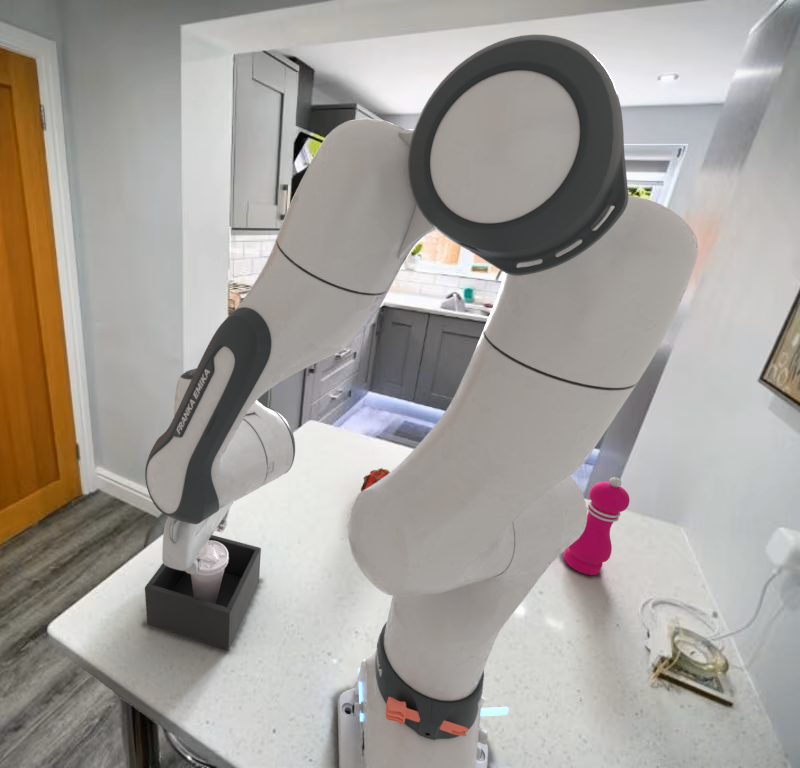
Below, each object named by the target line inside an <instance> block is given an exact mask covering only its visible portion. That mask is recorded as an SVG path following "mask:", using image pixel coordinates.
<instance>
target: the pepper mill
mask: <svg viewBox="0 0 800 768" xmlns="http://www.w3.org/2000/svg"><path fill="white" fill-rule="evenodd" d="M588 495H589V499H590V500H589V501H588V503H587V505H586V507H587V523H586V527H585V530H584V532H583V533H582V535H581V536H580V538H579V539H577V540H576V541H575V542H574V543H573V544H572V545H570V546H569V547H568V548H567V549H566V550H565V551H563V555H562V556H563V560H564V562H565V563H566V564H567V565H568V566H569V567H570V568H572V569H573V570H575V571H577V572H578V573H580V574H584V575H587V576H588V575H589V576H596V575H598V574H599V573H600V572H601V570H602V568H603V563H605V562H607V561H609V560H610V558H611V555H612V549H613V547H612V546H613V545H612V540H611V528H612V525H613V524H614V523H615V522H618V521H619V519H620V516H621V513H622V512H624V511H626V510H627V509H628V507H629V504H630V495H629V493H628V491H627V490H626V489H625V488H623V486H622V480H621V479H620V478H618V477H615V476H614V477H610V479H609V481H599V482H597V483H595V484H593V485H592V487H590V490H589V493H588Z"/></svg>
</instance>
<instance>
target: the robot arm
mask: <svg viewBox="0 0 800 768" xmlns="http://www.w3.org/2000/svg"><path fill="white" fill-rule="evenodd" d="M623 121H624V119H623V112H622V107H621V102H620V97H619V94H618V91H617V88H616V86H615V82H614V81H613V79H612V76H611V75H610V73H609V71H608V69H606V67H605V65H604V64H603V63H602V62H601V61H600V60H599V58H598V57H596V55H594V53H592V52H591V51H590V50H588V49H587V48H585V47H584V46H582V45H580V44H578V43H577V42H575V41H572V40H570V39H567V38H564V37H561V36H560V37H559V36H556V35H551V34H550V35H548V34H525V35H517V36H513V37H509V38H506V39H502V40H499V41H496V42H494V43H492V44H489V45H488V46H485V47H484V48H481V49H480V50H477V51H476V52H474V53H473V54H471V55H470V56H468V57H466V59H464V60H463V61H462V62H460V63H459V64H458V65H457V66H455V68H453V69H452V70H451V71H450V72H448V73H447V75H446V76H445V77H444V78H443V79H442V81H441V82H440V83H439V84H438V85H437V87H436V88H435V89H434V90H433V92H432V93H431V95H430V96H429V98H428V99H427V101H426V103H425V105H424V106H423V108H422V110H421V112H420V114H419V116H418V118H417V121H416V123H415V126H414V129H410V128H409V129H408V128H404V127H402V126H399V125H397V124H394V123H392V122H389V121H386V120H382V119H377V118H358V119H352V120H347V121H345V122H343V123H340V124H339V125H337V126H335V128H333V129H332V130H331V131H330V132H329V133H328V134H327V135H326V136H325V138H324V139H323V141H322V142H321V144H320V146H319V148H318V149H317V151H316V153H315V154H314V156H313V158H312V159H311V161H310V163H309V165H308V167H307V168H306V170H305V172H304V174H303V176H302V178H301V179H300V182H299V184H298V186H297V188H296V189H295V192H294V195H293V196H292V199H291V201H290V203H289V205H288V208H287V210H286V213H285V215H284V217H283V221H282V222H281V225H280V227H279V230H278V233H277V237H276V238H275V241H274V244H273V246H272V248H271V250H270V251H271V252H270V253H269V256H268V258H267V260H266V262H265V264H264V266H263V268H262V269H261V271H260V273H259V275H258V276H257V278H256V280H255V281H254V283H253V284H252V286H251V288H250V289H249V291H247V294H246V295H245V296H244V298H243V299H242V300H241V301H240V303H239V304H238V305H237V306H236V307H235V309H234V310H233V311H231V312H230V314H229V315H228V316H227V317H226V318H225V319H224V321H223V322H222V323H220V325H219V326H218V328H217V329H216V331H215V332H214V334H213V335H212V337H211V339H210V341H209V343H208V345H207V347H206V348H205V351H204V353H203V354H202V357H201V359H200V361H199V362H198V365H197V367H196V368H193V369H189V370H186V371H185V372H183V373H182V374H181V375H180V376H179V378H178V379H177V383H176V388H175V394H174V395H175V396H174V407H173V409H174V411H173V419H172V421H171V422H170V424H169V425H168V428H167V429H166V430H165V431H164V432H163V434H161V435H160V436H159V437H158V438H157V439H156V441H155V443H154V444H153V446H152V448H151V450H150V451H149V455H148V458H147V460H146V464H145V469H144V470H145V472H144V477H145V478H144V479H145V485H146V489H147V492H148V495H149V498H150V500H151V501H152V503H153V505H154V506H155V508H156V509H157V510H158V511H159V512H160V513H161V514H163V515H165V516H166V517H167V518H166V521H165V524H164V527H163V534H162V535H163V536H162V555H161V556H162V564H163V563H164V565H166V566H168V567H170V568H173V569H176V570H181V571H186V572H187V573H189V574H192V575H196V574H197V572H198V571H199V569H200V567H201V565H200V564H201V559H198V558H197V557H198V555H199V554H200V552H201V551H202V549H203V548H204V546H205V545H206V543H207V542H208V540H209V539H210V537H211V536H212V535H214V533H215V532H219V533H223V532H224V531H225V529H226V528H227V526H228V518H229V514H230V511H231V506H232V505H233V504H234V502H236V501H238V500H240V499H241V498H244V497H246V496H247V495H249V494H251V493H253V492H255V491H257V490H258V489H260V488H262V487H264V486H266V485H268V484H269V483H271V482H274V481H276V480H278V479H279V478H280V477H282V476H283V475H286V474H287V473H288V472H289V471H290V470H291V468H292V466H293V464H294V461H295V456H296V441H295V436H294V433H293V429H292V427H291V425H290V424H289V422H288V420H287V419H286V418H285V417H284V416H283V415H282V414H281V413H279V412H278V411H277V410H275V409H274V408H270V407H269V406H266V405H263V404H262V403H261V402H259V399H260V398H261V397H262V396H264V395H265V394H266V393H267V392H268V391H270V390H271V389H272V388H274V387H275V386H276V385H278V384H279V383H280V384H281V382H283V381H285V380H287V379H288V378H290V377H292V376H294V375H295V374H297V373H299V372H301V371H304V370H305V369H307V368H309V367H311V366H313V365H315V364H317V363H319V362H322V361H324V360H326V359H328V358H330V357H332V356H334V355H336V354H338V353H340V352H341V351H344V350H345V349H347V348H348V347H349V346H350V345H351V344H352V343H353V342H354V341H355V340H356V339H357V337H358V336H359V335H361V333H362V332H363V331H364V330H365V328H366V327H367V326H368V325H369V323H370V322H371V321H372V320H373V318H374V317H375V315H376V314H377V312H378V311H379V309H380V307H381V305H382V304H383V302H384V300H385V298H386V297H387V295H388V293H389V291H390V289H391V287H392V285H393V284H394V282H395V280H396V278H397V276H398V274H399V272H400V271H401V269H402V267H403V265H404V264H405V262H406V260H407V259H408V257H409V255H411V253H412V251H413V250H414V248H415V247H416V245H418V244H419V242H420V241H421V240H422V239H424V238H425V236H427V235H429V234H430V233H432V232H435V231H437V232H439V233H440V234H441V235H443V236H444V237H445V238H447V239H448V240H450V241H451V242H453V243H455V244H456V245H458V246H460V247H462V248H463V249H465V250H466V251H469V252H470V253H472V254H474V255H476V256H477V257H479V258H480V259H482V260H484V261H485V262H487V263H488V264H489V265H492V266H493V267H495V268H497V269H498V270H500V271H501V272H503V275H502V280H501V283H500V286H499V291H498V292H497V296H496V298H495V301H494V304H493V306H492V308H491V311H490V313H489V316H488V318H487V320H486V322H485V325H484V327H483V330H482V332H481V334H480V337H479V338H478V339H479V340H478V341H477V344H476V347H475V349H474V351H473V354H472V356H471V358H470V360H469V363H468V365H467V368H466V369H465V372H464V374H463V376H462V378H461V380H460V383H459V385H458V387H457V389H456V392H455V393H454V395H453V397H452V399H451V401H450V403H449V405H448V406H447V408H446V409H445V412H444V413H443V414H442V415H441V417H440V418H439V420H438V421H437V422H436V423H435V425H434V426H433V427H432V428H431V429H430V431H429V432H428V433H427V434H426V435H425V437H424V438H423V439H422V440H421V441H420V442H419V443H418V444H417V446H416V447H415V448H414V449H413V450H412V451H411V452H410V453H409V454H408V455H407V456H406V457H405V459H403V460H402V461H401V462H400V463H399V464H398V465H397V466H396V467H394V469H392V470H391V471H389V472H390V473H389V474H388V475H386V476H385V477H384V478H382V479H381V480H379V481H378V482H376V483H375V484H373V485H372V486H370V487H368V488H367V489H365V490H363V491H362V492H361V491H360V492H359V493H358V494H357V496H356V498H355V499H354V501H353V503H352V505H351V507H350V513H349V515H348V521H347V522H348V523H347V538H348V544H349V545H348V546H349V548H350V552H351V554H352V557H353V559H354V562H355V564H356V565H357V567H358V569H359V571H360V572H361V573H362V574H363V576H364V577H365V578H366V579H367V580H368V581H369V582H370V584H372V586H374V587H375V588H376V589H378V590H379V591H380V592H382V593H383V594H385V595H387V596H392V597H391V602H390V607H389V611H388V615H387V619H386V622H385V623H384V624H383V627H382V628H381V630H380V633H379V636H378V638H377V642H376V650H375V652H373V653H372V654H370V655H368V656H367V657H365V659H362V660H361V664H360V667H358V670H357V674H358V676H357V680H356V683H355V687H353V688H351V689H348V690H345V691H344V692H342V693H341V694H340V695H339V698H338V700H337V735H338V737H337V738H338V768H488V764H489V763H488V762H489V746H488V743H487V742H488V735H489V733H488V731H487V730H486V729H483V728H481V726H480V724H481V717H487V716H488V717H489V716H506V715H508V712H509V707H508V706H499V707H498V706H497V707H495V706H494V707H483V705H484V703H485V697H483V690H484V680H485V667H486V665H487V662H488V660H489V658H490V655H491V652H492V650H493V647H494V644H495V642H496V639H497V638H498V636H499V634H500V633H501V631H502V629H503V628H504V626H505V624H506V623H507V622H508V621H509V619H510V618H511V616H512V615H513V614H514V613H515V612H516V610H517V609H518V608H519V606H520V605H521V604H522V602H523V601H524V600H525V599H526V597H527V596H528V594H529V593H530V592H531V590H532V589H533V587H534V586H535V585H536V584H537V583H538V581H539V580H540V578H541V577H542V576H543V575H544V573H545V572H546V571H547V569H548V568H549V567H550V566H551V565H552V564H553V563H554V561H556V559H558V557H559V556H560V555H561V554H563V553H564V552H565V550H566V549H567V548H568V547H569V546H570V545H572V544H573V543H574V542H575V541H576V540H577V539H579V538H580V536H581V535H582V533H583V532H584V530H585V527H586V523H587V515H588V510H587V502H586V500H585V497H584V494H583V492H582V489H581V488H580V486H579V485H578V483H577V482H576V480H575V479H574V478H573V477H572V475H573V474H575V472H577V471H578V470H579V469H580V468H581V467H582V466H583V465H584V464H585V463H586V461H587V460H588V458H589V457H590V455H591V454H592V453H593V451H594V449H595V448H596V446H597V445H598V444H599V442H600V441H601V440H602V437H603V436H604V434H605V433H606V432H607V430H608V428H609V427H610V425H611V424H612V422H613V421H614V420H615V418H616V417H617V415H618V414H619V411H621V409H622V407H623V406H624V404H625V402H627V400H628V398H629V397H630V395H631V394H632V393H633V391H634V389H635V388H636V386H637V385H638V383H639V382H640V380H641V378H642V376H643V375H644V373H645V372H646V370H647V369H648V367H649V365H650V364H651V362H652V361H653V359H654V357H655V355H656V354H657V352H658V350H659V348H660V346H661V344H662V343H663V341H664V339H665V337H666V335H667V332H668V331H669V328H670V327H671V325H672V323H673V320H674V319H675V317H676V315H677V312H678V310H679V307H680V305H681V303H682V300H683V298H684V295H685V293H686V291H687V289H688V285H689V284H690V280H691V277H692V274H693V272H694V269H695V267H696V264H697V259H698V256H699V245H698V244H699V243H698V239H697V236H696V234H695V232H694V229H692V227H691V226H690V225H689V223H688V222H687V221H686V220H685V219H683V218H682V216H681V215H680V214H677V213H676V212H674V211H673V210H671V208H669V207H666V206H664V205H663V204H661V203H658V202H656V201H653V200H650V199H648V198H644V197H643V198H642V197H639V196H633V195H629V188H628V178H627V177H628V176H627V166H626V157H625V155H626V154H625V138H624V137H625V135H624V122H623ZM346 712H349V714H348V713H346Z"/></svg>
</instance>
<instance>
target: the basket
mask: <svg viewBox="0 0 800 768" xmlns="http://www.w3.org/2000/svg"><path fill="white" fill-rule="evenodd" d="M209 540H212V541H217V542H219V543H221V544H223V545H224V546H225V547H226V549H227V550H228V558H229V559H228V564H227V566H226V567H225V569H224V573H223V577H222V581H221V585H220V590H219V594H218V598H217V602H216V603H215V604H213V603H210V602H207V601H204V600H200V599H197V598H194V594H193V587H192V579H191V574H189V573H187V572H186V571H181V570H176V569H173V568H170V567H168V566H166V565H164V563H163V562H162V563H161V565H160V566H159V567H158V569H157V570H156V572H155V573H154V574H153V576H152V577H151V578H150V580H149V581H148V582H147V584H146V585H145V586H144V596H145V597H144V598H145V610H146V611H145V612H146V625H150V626H152V627H155V628H159V629H162V630H165V631H168V632H171V633H173V634H177V635H180V636H183V637H185V638H189V639H192V640H195V641H198V642H201V643H204V644H207V645H211V646H213V647H217V648H220V649H223V650H226V651H230V649H231V647H232V644H233V642H234V640H235V638H236V635H237V633H238V630H239V628H240V625H241V624H242V622H243V620H244V617H245V615H246V613H247V610H248V608H249V605H250V603H251V601H252V598H253V596H254V594H255V592H256V589H257V587H258V585H259V583H260V571H261V553H262V548H261V547H259V546H255V545H252V544H248V543H244V542H241V541H238V540H237V541H236V540H232V539H229V538H225V537H221V536H218V535H214V534H212V536H211V537H210V539H209Z"/></svg>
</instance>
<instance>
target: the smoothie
mask: <svg viewBox="0 0 800 768" xmlns="http://www.w3.org/2000/svg"><path fill="white" fill-rule="evenodd" d="M197 558H198V559H201V564H200V565H201V567H200V569H199V571H198V572H197V574H196V575H192V574H191V579H192V587H193V594H194V598H197V599H200V600H204V601H207V602H210V603H213V604H215V603H216V602H217V598H218V594H219V590H220V585H221V581H222V577H223V573H224V569H225V567H226V566H227V564H228V559H229V558H228V550H227V549H226V547H225V546H224V545H223V544H221V543H219V542H217V541H212V540H208V542H207V543H206V545H205V546H204V548H203V549H202V551H201V552H200V554H199V555H198V557H197Z"/></svg>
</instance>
